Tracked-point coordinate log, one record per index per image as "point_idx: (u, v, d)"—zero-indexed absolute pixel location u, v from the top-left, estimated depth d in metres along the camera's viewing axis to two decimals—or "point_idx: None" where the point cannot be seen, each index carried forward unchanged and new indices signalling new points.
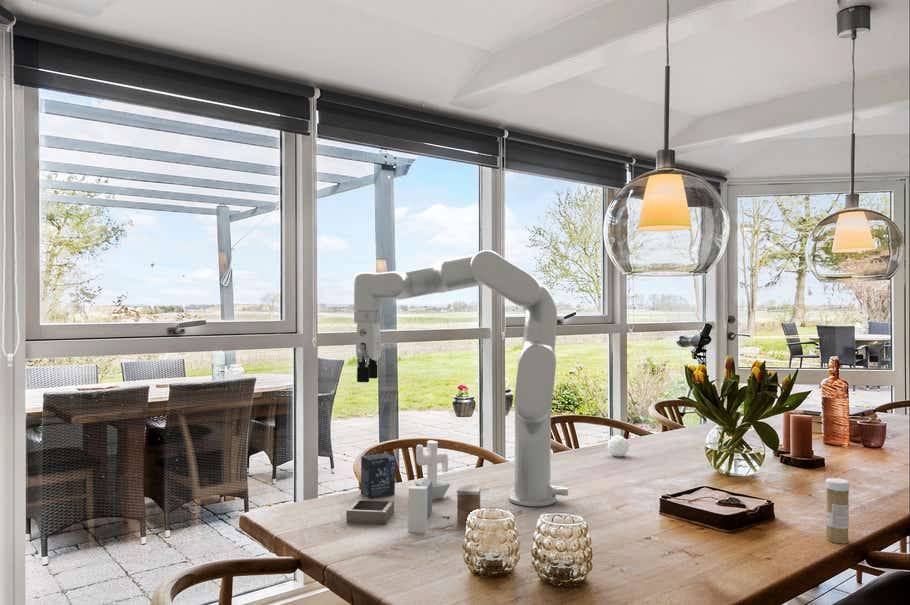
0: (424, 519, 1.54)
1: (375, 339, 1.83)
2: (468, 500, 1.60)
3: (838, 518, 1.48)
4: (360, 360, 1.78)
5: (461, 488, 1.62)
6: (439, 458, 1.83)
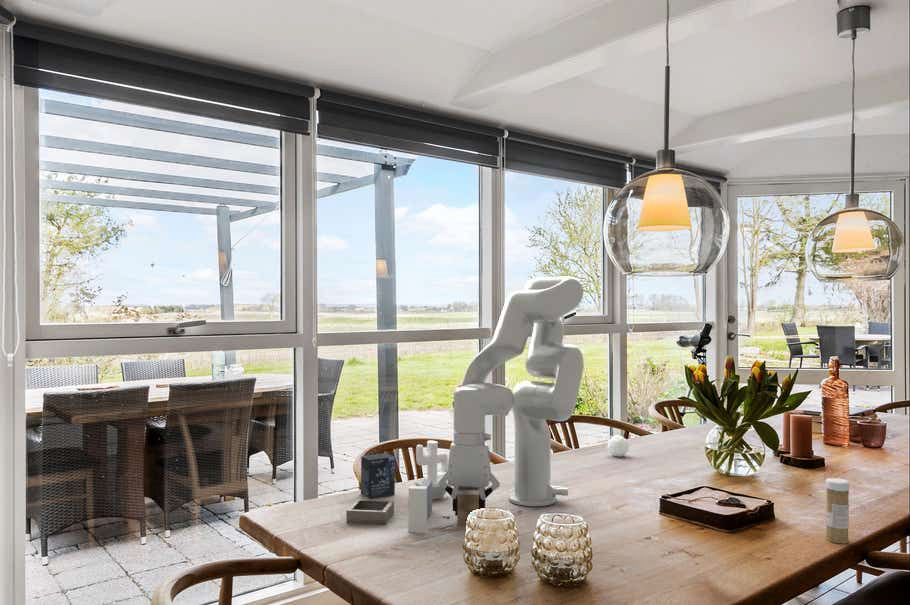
0: (424, 519, 1.54)
1: None
2: (468, 500, 1.60)
3: (838, 518, 1.48)
4: None
5: (461, 488, 1.62)
6: (439, 458, 1.83)
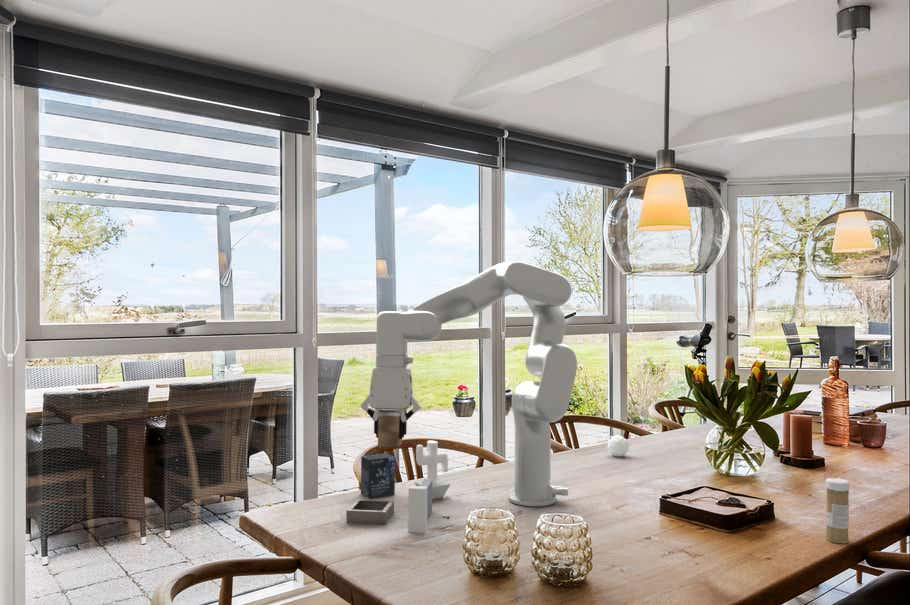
0: (424, 519, 1.54)
1: None
2: (388, 422, 1.62)
3: (838, 518, 1.48)
4: (413, 413, 1.64)
5: (383, 411, 1.64)
6: (439, 458, 1.83)
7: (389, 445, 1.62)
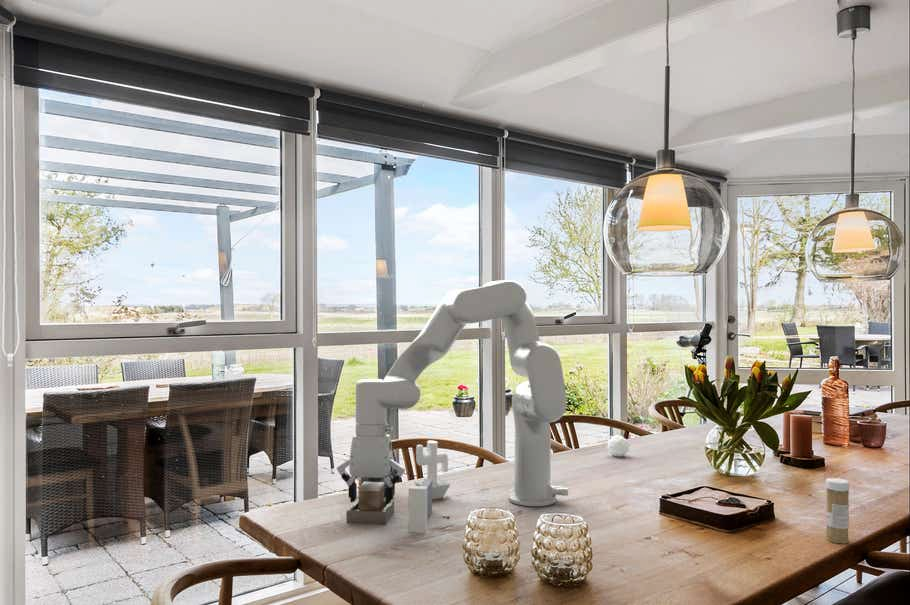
0: (424, 519, 1.54)
1: None
2: (369, 497, 1.62)
3: (838, 518, 1.48)
4: (400, 477, 1.64)
5: (363, 484, 1.65)
6: (439, 458, 1.83)
7: None
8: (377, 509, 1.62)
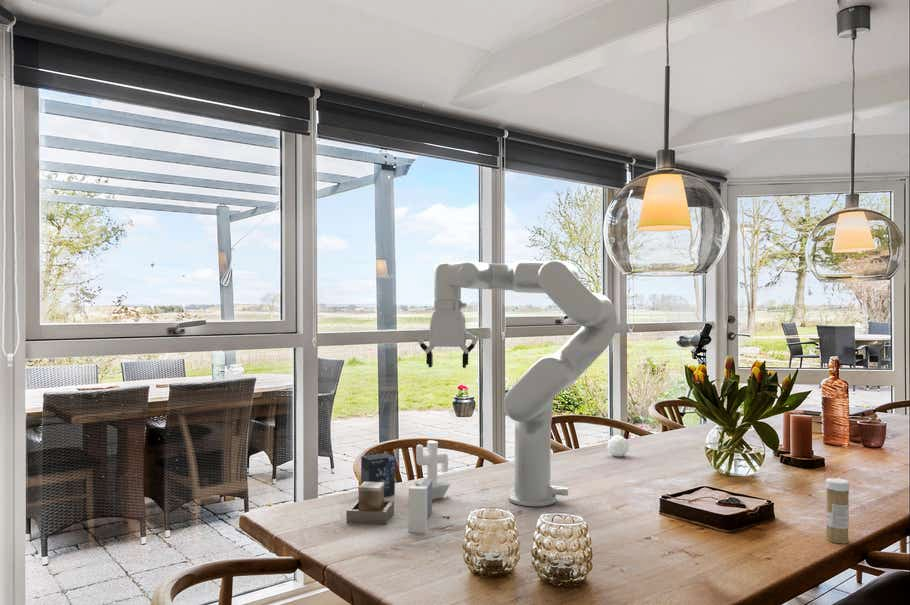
0: (424, 519, 1.54)
1: None
2: (369, 497, 1.62)
3: (838, 518, 1.48)
4: (474, 346, 1.90)
5: (363, 485, 1.65)
6: (439, 458, 1.83)
7: None
8: (377, 509, 1.62)
